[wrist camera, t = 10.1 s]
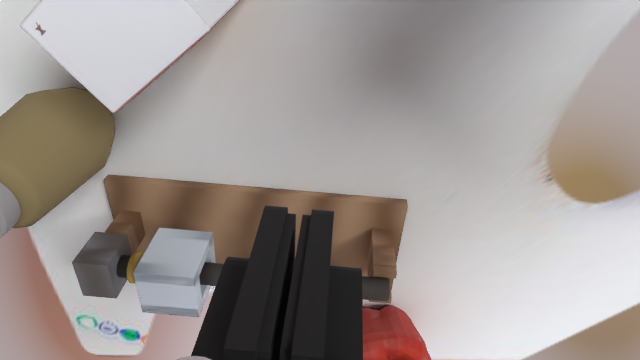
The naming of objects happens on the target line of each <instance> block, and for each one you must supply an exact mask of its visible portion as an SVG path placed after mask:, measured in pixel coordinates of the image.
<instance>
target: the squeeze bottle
mask: <svg viewBox="0 0 640 360" xmlns="http://www.w3.org/2000/svg"><path fill="white" fill-rule="evenodd" d="M114 134H115V121H114V117H113V115H112V113H111V112H110V110H109V109H108V108H107V107H106V106H105V105H104V104H103V103H101V102H100V101H99V100H98V99H97V98H96V97H95V96H94V95H93V94H92V93H90V92H88V91H86V90H82V89H77V88H63V89H54V90H44V91H39V92H35V93H30V94H26V95H25V96H24V97H23V98H22V99H21V100H19V101H18V102H17V103H16V104H15V105H14V106H12V107H11V108H10V109H9V110H8V111H7V112H6V113H4V114H3V115H2V116H1V117H0V238H1V237H2V236H4V235H5V234H6V233H7V232H8V231H9V230H10V229H11V228H21V227H27V226H31V225H33V224H34V223H35V222H37V221H38V220H40V219H41V218H42V217H43V216H45V215H46V214H47V213H48V212H50V211H51V210H52V209H53V208H54V207H56V206H57V205H58V204H59V203H60V202H62V201H63V200H64V199H65V198H67V197H68V196H69V195H70V194H71V193H73V192H74V191H75V190H76V189H78V188H79V187H80V186H81V185H82V184H84V183H85V182H86V181H87V180H88V179H90V178H91V177H92V176H93V175H95V174H96V173H97V172H98V171H99V170H101V169H102V168H103V167H104V166H105V164H106V162H107V159H108V157H109V155H110V151H111V147H112V143H113V138H114Z"/></svg>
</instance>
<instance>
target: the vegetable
mask: <svg viewBox="0 0 640 360" xmlns="http://www.w3.org/2000/svg"><path fill="white" fill-rule="evenodd" d="M362 311H363V360H431V358H430V355H429V353H428V351H427V349H426V345H425V342H424V341H423V339H422V337H421V336H420V334H419V333H418V331H417V329H416V328H415V326H414V325H413V323H412V321H411V319H410V318H409V317H408V315H407V314H406V313H405V312H404V311H402V310H401V309H399V308H397V307H395V306H385V307H384V308H382V309H380V310H375V309H370V308H362Z"/></svg>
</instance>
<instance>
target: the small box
mask: <svg viewBox="0 0 640 360" xmlns="http://www.w3.org/2000/svg"><path fill="white" fill-rule="evenodd" d="M238 1H239V0H40V1H39V2H38V4H37V5H36V6H35V7H34V8H33V9H32V10H31V12H30V13H29V14H28V15H27V16H26V18H25V19H24V20H23V21H22V22H21V24H20V27H21V28H22V29H23V30H24V31H26V32H27V33H28V34H29V35H30V36H31V37H32V38H33V39H34V40H35V41H36V42H37V43H38V44H39V45H40V46H41V47H42V48H43V49H44V50H45V51H47V52H48V53H49V54H50V55H51V56H52V57H53V58H54V59H55V60H56V61H57V62H58V63H59V64H60V65H61V66H63V67H64V68H65V69H66V70H67V71H68V72H69V73H70V74H71V75H72V76H73V77H74V78H75V79H77V80H78V81H79V82H80V83H81V84H82V85H83V86H84V87H85V88H86V89H87V90H88V91H89V92H91V93H92V94H93V95H94V96H95V97H96V98H97V99H98V100H99V101H100V102H101V103H103V104H104V105H105V106H106V107H107V108H108V109H109V110H110V111H111V112H112V113H116V112H118V111H119V110H120V109H121V108H123V107H124V106H125V105H126V104H127V103H129V102H130V101H131V100H132V99H133V98H134V97H136V96H137V95H138V94H139V93H140V92H142V91H143V90H144V89H145V88H146V87H147V86H149V85H150V84H151V83H152V82H153V81H154V80H155V79H157V78H158V77H159V76H160V75H161V74H162V73H163V72H165V71H166V70H167V69H168V68H169V67H170V66H171V65H173V64H174V63H175V62H176V61H177V60H178V59H179V58H180V57H182V56H183V55H184V54H185V53H186V52H187V51H188V50H189V49H191V48H192V47H193V46H194V45H195V44H196V43H197V42H198V41H200V40H201V39H202V38H203V37H204V36H205V35H206V34H207V33H208V32H209V31H210V30H211V29H212V28H213V27H214V26H215V25H216V24H217V23H218V21H219V20H220V19H221V18H222V17H224V16H225V15H226V14H227V13H228V11H229V10H230V9H231V8H232V7H233V6H234V5H236V4H237V2H238Z"/></svg>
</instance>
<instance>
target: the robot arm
mask: <svg viewBox="0 0 640 360" xmlns="http://www.w3.org/2000/svg"><path fill="white" fill-rule="evenodd" d="M333 220H334V211H326V210H314V209H312V212H311V215H303V216H302V221H301V227H300V233H299V239H298V245H297V251H296V257H295V239H296V214H291V213H288V207H279V206H267V205H266V206H265V207H264V210H263V213H262V217H261V220H260V224H259V227H258V230H257V234H256V237H255V241H254V244H253V248H252V251H251V254H250V258H238V257H227V258H226V260H225V262H224V265H223V268H222V270H221V273H220V276H219V279H218V282H217V285H216V287H215V290H214V293H213V296H212V299H211V301H210V304H209V308H208V310H207V313H206V315H205V318H204V321H203V324H202V327H201V330H200V332H199V335H198V338H197V341H196V344H195V347H194V349H193V352H192V355H191V356H189V357H184V358H180V359H177V360H363V311H362V269H361V268H351V267H340V266H330V262H331V248H332V234H333Z"/></svg>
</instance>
